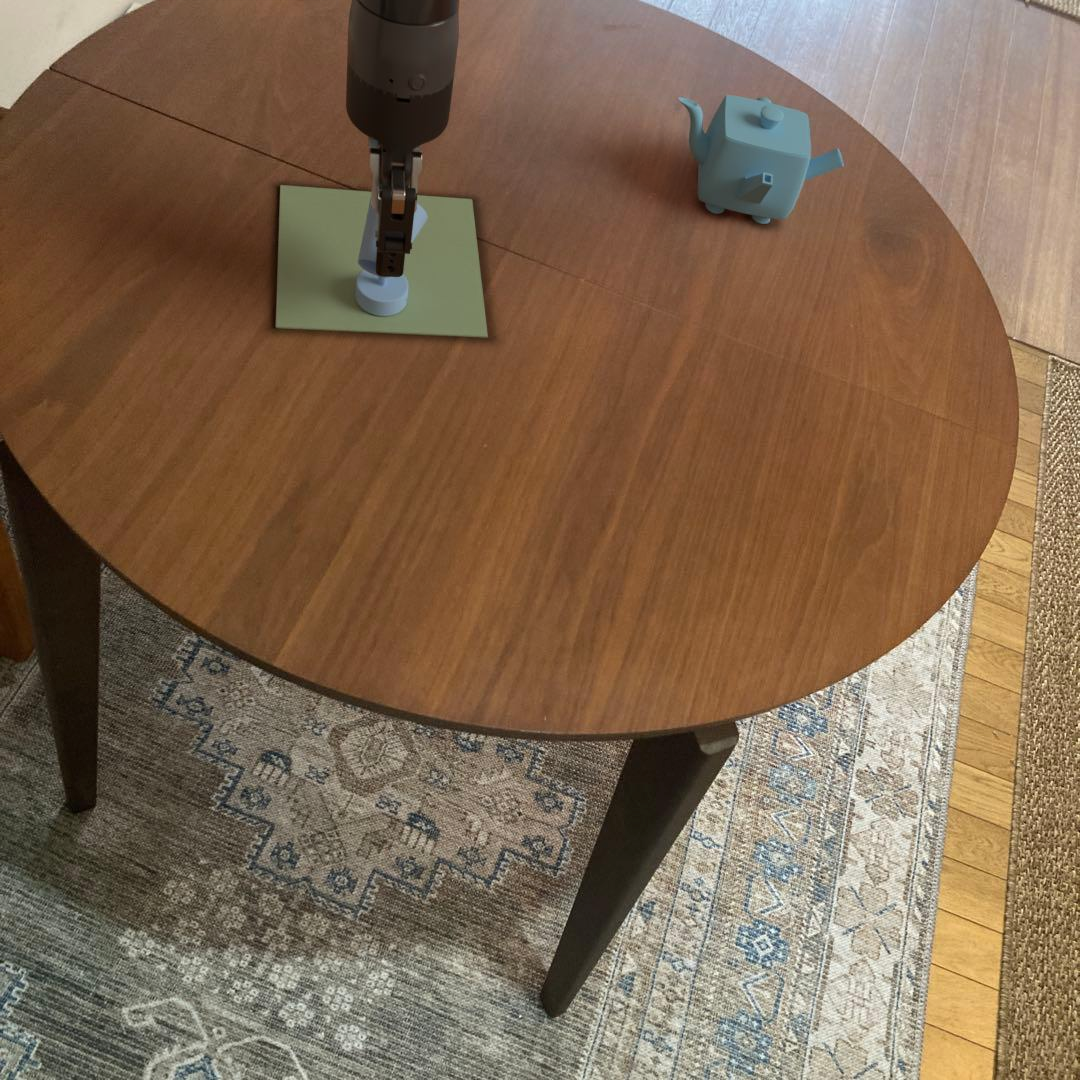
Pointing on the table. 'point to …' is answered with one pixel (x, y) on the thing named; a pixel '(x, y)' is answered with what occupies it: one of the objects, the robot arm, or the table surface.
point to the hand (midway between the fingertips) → (387, 241)
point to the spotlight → (381, 290)
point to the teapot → (754, 157)
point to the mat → (332, 268)
